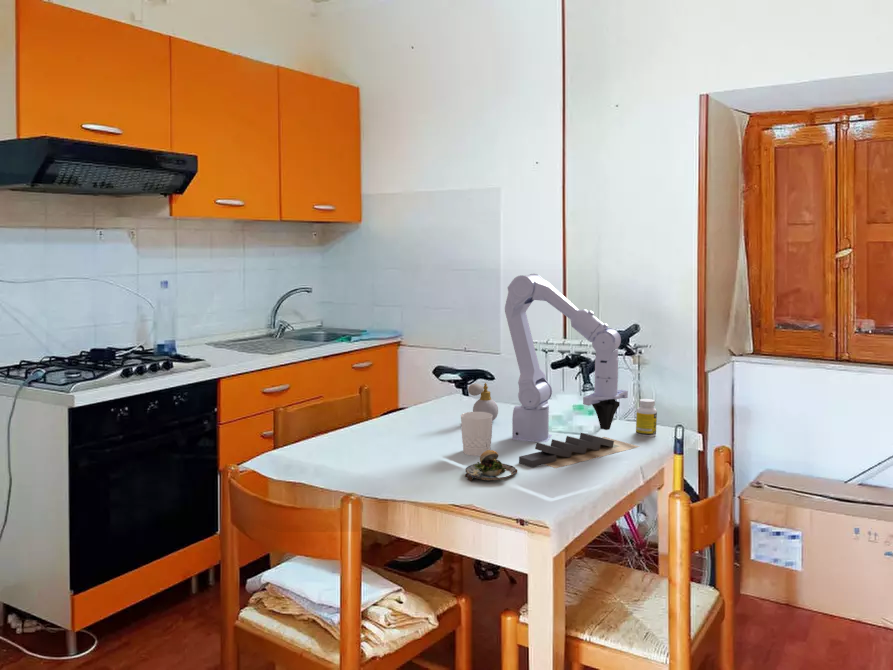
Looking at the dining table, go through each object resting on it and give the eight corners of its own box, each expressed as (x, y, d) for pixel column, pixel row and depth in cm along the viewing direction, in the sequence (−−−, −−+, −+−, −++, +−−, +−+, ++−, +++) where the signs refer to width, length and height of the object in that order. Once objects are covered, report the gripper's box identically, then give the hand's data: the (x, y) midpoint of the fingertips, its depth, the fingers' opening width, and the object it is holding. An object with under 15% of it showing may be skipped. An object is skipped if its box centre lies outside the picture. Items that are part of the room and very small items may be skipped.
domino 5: (612, 447, 198) (592, 442, 193) (599, 443, 201) (579, 438, 196) (614, 441, 198) (593, 436, 193) (601, 437, 201) (580, 432, 196)
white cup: (496, 451, 197) (496, 412, 196) (487, 459, 189) (487, 419, 188) (466, 448, 199) (466, 410, 198) (456, 457, 192) (456, 417, 191)
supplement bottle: (656, 438, 208) (657, 402, 207) (636, 437, 209) (637, 401, 208) (655, 433, 214) (656, 398, 212) (635, 432, 215) (636, 397, 213)
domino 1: (556, 461, 186) (531, 467, 181) (543, 457, 189) (519, 463, 184) (556, 454, 186) (531, 460, 181) (543, 450, 189) (519, 456, 184)
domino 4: (599, 450, 195) (578, 445, 190) (586, 446, 198) (565, 442, 193) (600, 444, 195) (579, 439, 190) (587, 440, 198) (566, 435, 193)
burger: (465, 485, 171) (465, 452, 170) (464, 469, 183) (463, 438, 182) (519, 485, 171) (519, 452, 170) (515, 468, 183) (515, 438, 182)
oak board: (555, 470, 180) (555, 467, 180) (520, 458, 190) (520, 456, 190) (640, 448, 198) (640, 446, 198) (604, 439, 208) (604, 436, 208)
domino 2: (570, 457, 189) (547, 452, 184) (557, 453, 192) (534, 448, 187) (571, 451, 189) (549, 446, 184) (558, 447, 192) (536, 442, 187)
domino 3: (585, 454, 192) (563, 449, 187) (572, 450, 195) (550, 445, 190) (586, 447, 192) (564, 443, 187) (573, 444, 195) (552, 439, 190)
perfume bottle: (502, 420, 229) (502, 380, 228) (489, 427, 221) (489, 386, 219) (478, 417, 233) (478, 378, 231) (465, 425, 224) (465, 384, 222)
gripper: (598, 382, 189) (597, 436, 191) (637, 375, 198) (636, 427, 200) (577, 378, 195) (576, 431, 197) (616, 371, 203) (615, 422, 205)
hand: (605, 429), depth 198 cm, fingers closed
